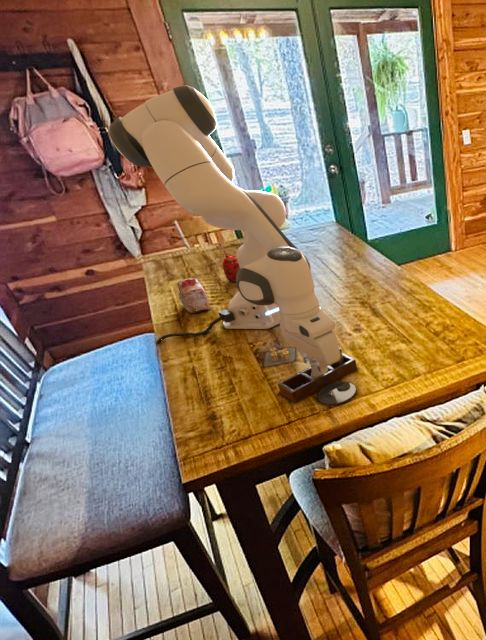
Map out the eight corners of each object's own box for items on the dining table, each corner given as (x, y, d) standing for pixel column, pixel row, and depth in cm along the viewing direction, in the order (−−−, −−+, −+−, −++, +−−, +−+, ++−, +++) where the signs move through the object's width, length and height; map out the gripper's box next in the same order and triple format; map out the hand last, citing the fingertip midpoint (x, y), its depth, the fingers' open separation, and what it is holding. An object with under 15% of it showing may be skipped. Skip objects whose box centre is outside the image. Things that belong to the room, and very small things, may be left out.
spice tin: (331, 375, 126) (325, 353, 123) (333, 367, 129) (328, 346, 125) (345, 373, 126) (339, 352, 123) (347, 366, 129) (342, 345, 126)
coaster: (314, 406, 115) (314, 405, 114) (322, 385, 122) (322, 383, 122) (353, 403, 115) (352, 401, 115) (358, 382, 122) (358, 380, 122)
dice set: (290, 359, 134) (288, 353, 133) (270, 362, 133) (268, 356, 132) (290, 350, 138) (289, 344, 137) (271, 353, 137) (269, 348, 136)
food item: (214, 309, 165) (203, 282, 160) (188, 317, 161) (176, 289, 156) (205, 297, 174) (195, 271, 169) (180, 304, 170) (169, 277, 165)
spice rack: (295, 403, 116) (291, 392, 115) (280, 393, 120) (277, 383, 119) (357, 369, 128) (355, 359, 126) (342, 361, 131) (340, 351, 130)
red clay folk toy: (237, 283, 184) (223, 244, 176) (222, 282, 186) (208, 243, 178) (251, 275, 190) (238, 237, 182) (236, 274, 192) (224, 236, 184)
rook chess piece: (313, 376, 126) (305, 350, 121) (330, 375, 126) (323, 348, 122) (309, 386, 122) (301, 359, 118) (327, 385, 122) (320, 357, 118)
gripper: (267, 311, 119) (283, 359, 126) (314, 335, 107) (328, 387, 114) (291, 301, 122) (304, 349, 130) (338, 323, 110) (350, 374, 118)
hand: (316, 367), depth 122 cm, fingers open, 5 cm apart
